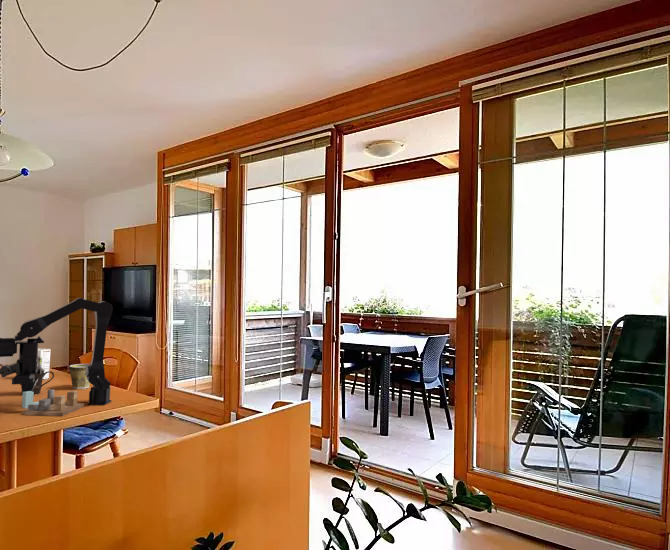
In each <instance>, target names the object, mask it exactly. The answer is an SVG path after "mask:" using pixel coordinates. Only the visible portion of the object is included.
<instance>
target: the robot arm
mask: <svg viewBox="0 0 670 550" xmlns="http://www.w3.org/2000/svg"><path fill="white" fill-rule="evenodd" d="M81 309H83V310H86V311H87V310H88V311H91V312H94V319H95V329H94V331H95V332H94V338H93V347H92V358H91V360H90V363H85V364H86V372H85V375H86V377H87V379H88V381H89V382H90V384H91V385H92V386H91V387H90V390H89V392H88V393H89V395H88V402H87V405H92V404H93V405H96V406H98V405H99V406H102V405H103V406H104V405H107V404H110V403H111V402H112V401H113V400H112V399H111V384H112V383H111V382H110V381H109V380H108V379H107V378H106V373H105V364H104V356H105V350H106V349H105V348H106V347H105V346H106V338H107V329H108V324H109V322H110V319H111V317H112V314H113V305H112V303H110V302H108V301H105V300H103V301H101V300H100V301H98V302H96V301H93V300H89V299H84V298H83V297H78V298H75V299H74V300H73V301H70V302H68V303H66V304H65V305H63V306H60V307H59V308H57V309H54V310H53V311H51V312H49V313H47V314H45V315H42V316H38V317H35V318H32V319H28V320H26V321H24V322H23V323H22V324H21V325H20V328H19V329H20V330H19V332H17V333H16V334H15V335H14V336H13V337H0V358H4V357H5V358H8V357H13V356H14V355H15V354H18V359H17V360H16V362H13V363H11V364H5V365H2V366H0V377H1V378H6V377H7V376H9V375H14V374H15V376H13V377H12V379H11V385H20V387H21V386H22V390H23V392H26V391H32V390H33V388H34V386H35V384H36V382H37V380H38V377H35V375H34V374H35V373H38V374H41V373H42V368H41V367H40V366H37V361H38V360H39V357H38V348H39V344H44V343H45V340H44V339H43V338H42V337H41V336H40V335H38V334H40V333H41V332H43V331H44V330H45V329H46V328H47V327H49V326H50V325H51V324H53V323H56V322H57V321H59V320H61V319H64V318H65V317H67V316H69V315H72V314H73V313H75V312H77V311H80V310H81ZM37 335H38V336H37ZM36 336H37V337H36ZM34 337H35V338H34ZM25 339H27V340H25ZM18 345H19V347H18ZM18 348H19V351H18ZM89 364H90V365H89ZM22 390H21V391H22Z"/></svg>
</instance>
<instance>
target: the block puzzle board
mask: <svg viewBox="0 0 670 550" xmlns="http://www.w3.org/2000/svg"><path fill="white" fill-rule="evenodd" d="M78 392H79V390H69V391H67V392H66V395H64V394H63V395H60V394H59V395H55V389H53V388H51V389H50V388H49V389H47V395H46V396H47V397H46V398H42V399H39V400H38V402H39V405H32V404H29V405H28V408H26V410H23V411H22V415H23V416H51V417H64V416H66V415H69V414H70V413H73V412H75V411H77V410H80V409H82V408H84V407H85V403H83V402H78ZM83 406H84V407H83ZM81 407H82V408H81ZM79 408H80V409H79Z"/></svg>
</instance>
